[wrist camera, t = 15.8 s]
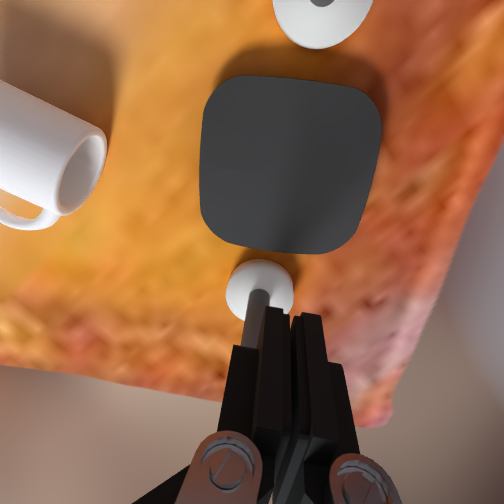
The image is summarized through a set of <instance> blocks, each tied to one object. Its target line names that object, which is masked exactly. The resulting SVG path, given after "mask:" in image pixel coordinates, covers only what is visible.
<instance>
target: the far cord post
mask: <svg viewBox="0 0 504 504" xmlns="http://www.w3.org/2000/svg"><path fill="white" fill-rule="evenodd" d="M226 301H227V304H228V306H229V308H230V310H231V311H232V312H233V313H234V314H235V315H236V316H237V317H238V318H240V319H242V320H244V321H245V322H244V328H243V334H242V340H241V346H244V347H250V348H255V349H256V346H257V341H258V336H259V332H260V327H261V323H262V318H263V313H264V309H265V306H272V307H277V308H283V311H284V314H288V312H289V311H290V309H291V307H292V304H293V282H292V279H291V276H290V275H289V273H288V272H287V270H286V269H285V268H284V267H282V266H281V265H280V264H278V263H276V262H274V261H271V260H267V259H252V260H248V261H245V262H243V263H241V264H240V265H238V266H237V267H236V268H235V269H234V271H233V272H232V274H231V276H230V278H229V282H228V286H227V290H226Z"/></svg>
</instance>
